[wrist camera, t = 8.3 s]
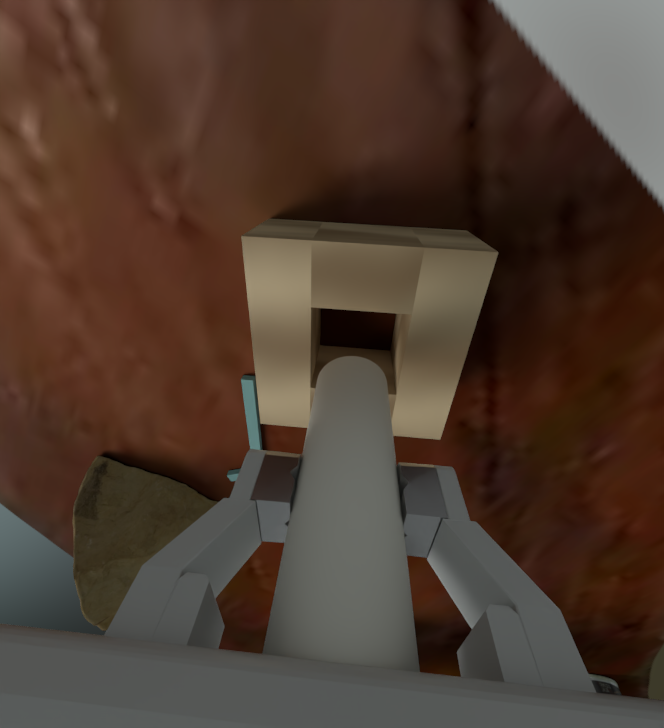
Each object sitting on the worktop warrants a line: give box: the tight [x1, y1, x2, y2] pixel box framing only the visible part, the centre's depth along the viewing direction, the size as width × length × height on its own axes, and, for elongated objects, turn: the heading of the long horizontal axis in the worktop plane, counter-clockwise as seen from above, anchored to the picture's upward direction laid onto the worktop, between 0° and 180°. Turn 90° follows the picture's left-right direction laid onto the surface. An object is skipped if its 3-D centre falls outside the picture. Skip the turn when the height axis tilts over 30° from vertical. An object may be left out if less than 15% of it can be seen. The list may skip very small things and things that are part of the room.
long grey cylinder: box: [263, 356, 420, 672], centre depth 9 cm, size 3×3×10 cm
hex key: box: [227, 375, 263, 481], centre depth 25 cm, size 11×3×1 cm, turn 178°
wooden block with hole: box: [241, 219, 499, 440], centre depth 17 cm, size 10×10×4 cm
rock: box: [72, 456, 218, 631], centre depth 27 cm, size 11×9×10 cm
